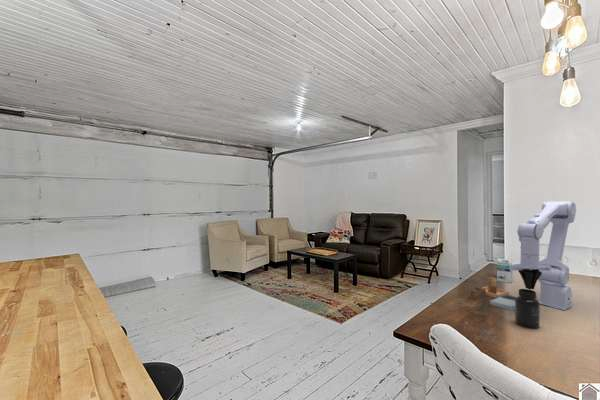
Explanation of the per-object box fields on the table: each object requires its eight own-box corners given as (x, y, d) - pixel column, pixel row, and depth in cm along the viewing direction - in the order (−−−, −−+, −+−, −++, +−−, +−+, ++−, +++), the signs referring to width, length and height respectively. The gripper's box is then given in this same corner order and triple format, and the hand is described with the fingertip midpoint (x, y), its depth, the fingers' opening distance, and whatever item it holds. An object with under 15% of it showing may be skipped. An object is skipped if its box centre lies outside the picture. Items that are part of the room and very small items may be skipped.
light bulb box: (512, 283, 149) (512, 262, 148) (496, 281, 153) (496, 261, 152) (512, 278, 157) (512, 259, 157) (497, 276, 161) (497, 257, 161)
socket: (523, 301, 123) (523, 298, 123) (514, 304, 120) (514, 301, 120) (505, 296, 129) (505, 293, 129) (496, 299, 126) (496, 296, 126)
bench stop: (485, 296, 129) (485, 286, 129) (475, 299, 126) (475, 289, 125) (480, 295, 131) (480, 285, 131) (470, 298, 127) (470, 288, 127)
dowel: (498, 293, 131) (498, 278, 131) (493, 294, 130) (493, 279, 130) (491, 291, 134) (491, 276, 134) (486, 292, 133) (486, 277, 133)
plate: (521, 307, 117) (521, 303, 117) (511, 311, 113) (511, 306, 113) (499, 301, 124) (499, 297, 124) (489, 305, 120) (489, 300, 120)
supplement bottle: (537, 322, 102) (537, 289, 102) (541, 330, 96) (541, 295, 96) (513, 318, 106) (513, 286, 106) (516, 326, 100) (516, 292, 100)
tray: (508, 295, 131) (508, 291, 131) (498, 299, 126) (498, 294, 126) (487, 289, 139) (487, 286, 139) (476, 292, 134) (476, 289, 134)
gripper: (540, 252, 115) (540, 285, 115) (503, 252, 115) (503, 285, 116) (555, 255, 108) (555, 291, 108) (516, 255, 108) (516, 291, 109)
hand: (529, 288), depth 111 cm, fingers closed
